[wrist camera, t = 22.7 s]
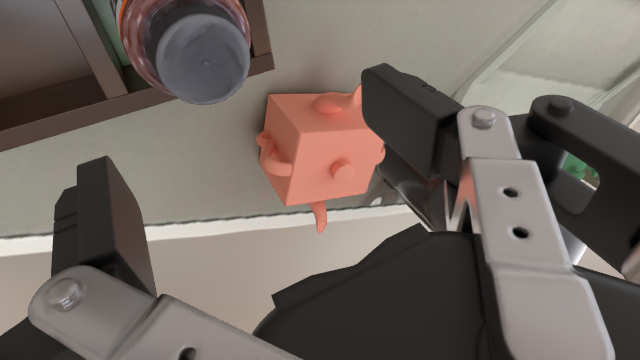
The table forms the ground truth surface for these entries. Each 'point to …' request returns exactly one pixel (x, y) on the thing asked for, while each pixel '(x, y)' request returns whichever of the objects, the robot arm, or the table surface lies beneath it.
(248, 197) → the table surface
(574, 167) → the alien toy
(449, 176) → the robot arm
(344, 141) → the teapot
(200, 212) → the table surface
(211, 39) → the supplement bottle
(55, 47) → the organizer
